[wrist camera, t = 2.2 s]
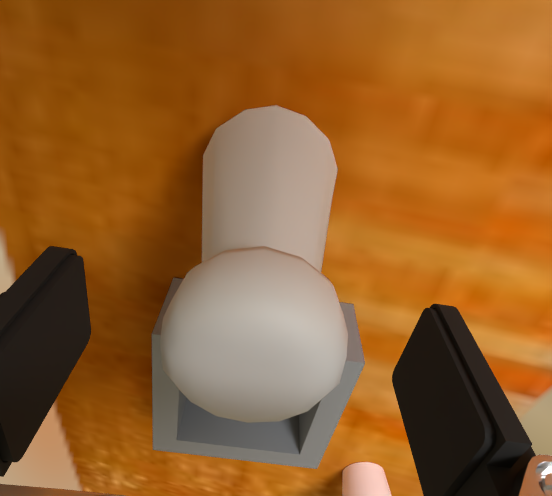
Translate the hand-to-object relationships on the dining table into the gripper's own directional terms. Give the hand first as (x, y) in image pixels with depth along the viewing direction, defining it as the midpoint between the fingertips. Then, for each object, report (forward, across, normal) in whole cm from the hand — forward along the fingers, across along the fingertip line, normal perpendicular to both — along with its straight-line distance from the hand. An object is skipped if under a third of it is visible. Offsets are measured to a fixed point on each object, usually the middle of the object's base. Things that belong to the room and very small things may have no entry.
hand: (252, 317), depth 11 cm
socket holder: (+11, -1, +13) cm, 17 cm away
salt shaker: (+10, 0, -1) cm, 10 cm away
